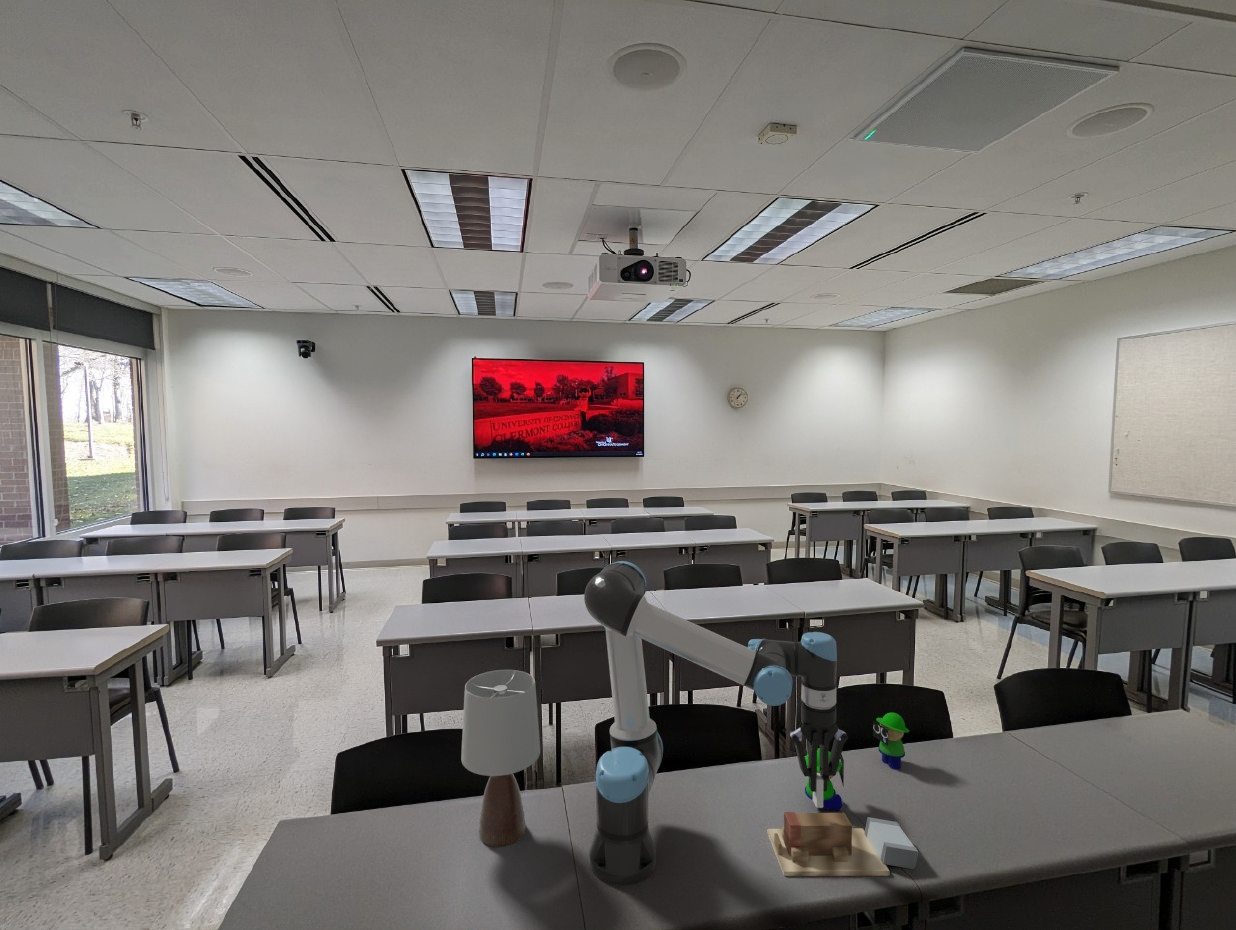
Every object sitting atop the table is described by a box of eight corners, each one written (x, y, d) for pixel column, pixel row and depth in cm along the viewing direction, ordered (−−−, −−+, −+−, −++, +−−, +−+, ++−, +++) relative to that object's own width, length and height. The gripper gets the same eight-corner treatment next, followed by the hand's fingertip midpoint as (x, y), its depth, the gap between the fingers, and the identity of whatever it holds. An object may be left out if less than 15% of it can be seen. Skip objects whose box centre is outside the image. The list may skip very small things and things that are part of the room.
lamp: (552, 815, 150) (551, 672, 148) (521, 866, 132) (519, 704, 131) (486, 803, 155) (484, 664, 153) (447, 851, 137) (444, 695, 136)
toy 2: (868, 758, 176) (869, 709, 175) (892, 753, 179) (893, 704, 178) (890, 774, 168) (891, 722, 167) (915, 769, 170) (916, 718, 170)
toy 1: (844, 820, 148) (845, 761, 147) (805, 815, 150) (805, 757, 149) (837, 794, 159) (838, 739, 158) (801, 790, 160) (801, 736, 160)
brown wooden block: (789, 856, 134) (790, 825, 133) (783, 842, 138) (784, 812, 138) (851, 855, 134) (852, 824, 133) (843, 841, 138) (844, 811, 138)
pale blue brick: (886, 846, 131) (918, 851, 131) (867, 817, 141) (896, 822, 141) (883, 863, 131) (914, 869, 131) (864, 833, 141) (893, 838, 141)
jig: (783, 876, 129) (784, 860, 129) (767, 833, 143) (767, 818, 143) (889, 876, 129) (889, 859, 129) (862, 833, 143) (862, 818, 143)
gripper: (794, 710, 131) (794, 814, 132) (854, 710, 131) (852, 814, 132) (785, 695, 138) (784, 794, 139) (841, 695, 138) (840, 793, 139)
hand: (817, 804), depth 136 cm, fingers closed
